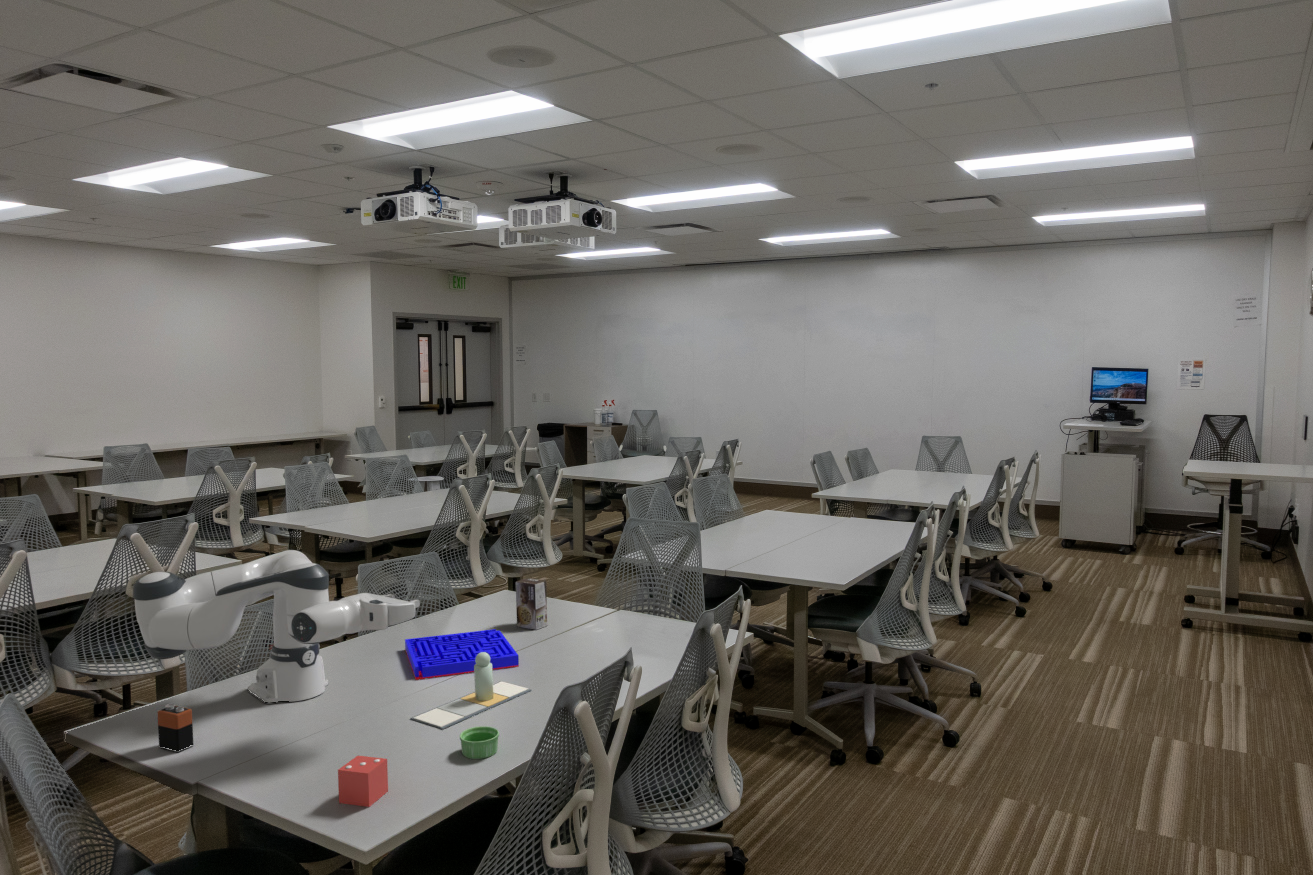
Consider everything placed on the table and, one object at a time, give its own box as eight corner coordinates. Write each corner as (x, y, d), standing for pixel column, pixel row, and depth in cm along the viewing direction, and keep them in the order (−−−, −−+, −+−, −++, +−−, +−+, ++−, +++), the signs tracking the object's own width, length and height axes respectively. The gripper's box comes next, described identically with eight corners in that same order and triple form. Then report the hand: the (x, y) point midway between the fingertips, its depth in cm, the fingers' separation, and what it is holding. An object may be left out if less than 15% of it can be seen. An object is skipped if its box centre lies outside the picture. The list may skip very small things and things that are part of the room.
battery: (174, 741, 210) (172, 700, 210) (194, 745, 207) (192, 704, 207) (158, 748, 206) (156, 707, 206) (178, 753, 203) (176, 711, 203)
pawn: (471, 698, 235) (469, 653, 234) (484, 693, 239) (482, 648, 238) (484, 702, 232) (482, 656, 231) (497, 696, 236) (495, 651, 235)
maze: (518, 668, 263) (518, 655, 262) (415, 681, 252) (415, 668, 251) (498, 640, 291) (498, 628, 290) (405, 651, 280) (405, 639, 279)
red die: (339, 802, 179) (337, 768, 178) (358, 787, 186) (357, 754, 185) (369, 806, 177) (368, 772, 177) (388, 790, 184) (387, 757, 183)
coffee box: (548, 625, 305) (547, 580, 304) (536, 630, 300) (535, 583, 299) (527, 621, 310) (527, 577, 309) (515, 626, 305) (514, 580, 304)
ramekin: (452, 752, 203) (452, 733, 203) (485, 740, 209) (485, 722, 209) (473, 764, 197) (473, 745, 196) (507, 751, 203) (506, 733, 203)
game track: (410, 718, 223) (410, 717, 223) (500, 682, 249) (500, 680, 249) (442, 729, 216) (442, 727, 216) (531, 690, 242) (531, 688, 242)
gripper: (334, 618, 219) (379, 606, 230) (387, 631, 207) (432, 617, 218) (333, 593, 218) (379, 582, 230) (386, 605, 207) (431, 593, 218)
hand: (405, 599), depth 224 cm, fingers open, 8 cm apart
